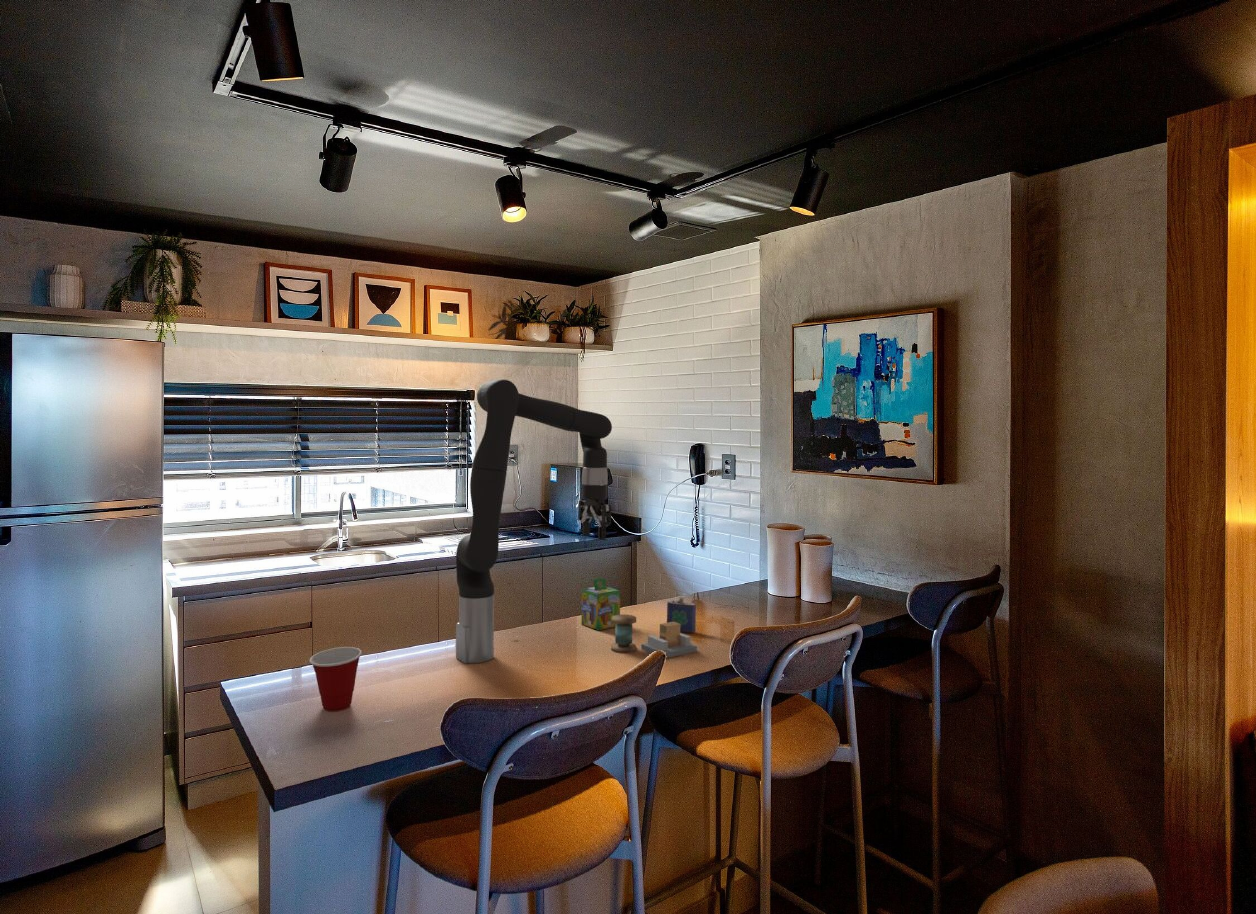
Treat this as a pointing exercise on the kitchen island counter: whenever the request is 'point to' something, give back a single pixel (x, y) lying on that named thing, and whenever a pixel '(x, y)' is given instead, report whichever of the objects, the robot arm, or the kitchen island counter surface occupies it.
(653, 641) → the grey ridged tray
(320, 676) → the plastic cup
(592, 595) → the chalk box
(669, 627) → the brown wooden block
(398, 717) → the kitchen island counter surface
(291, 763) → the kitchen island counter surface
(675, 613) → the flask
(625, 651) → the bobbin
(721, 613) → the kitchen island counter surface
